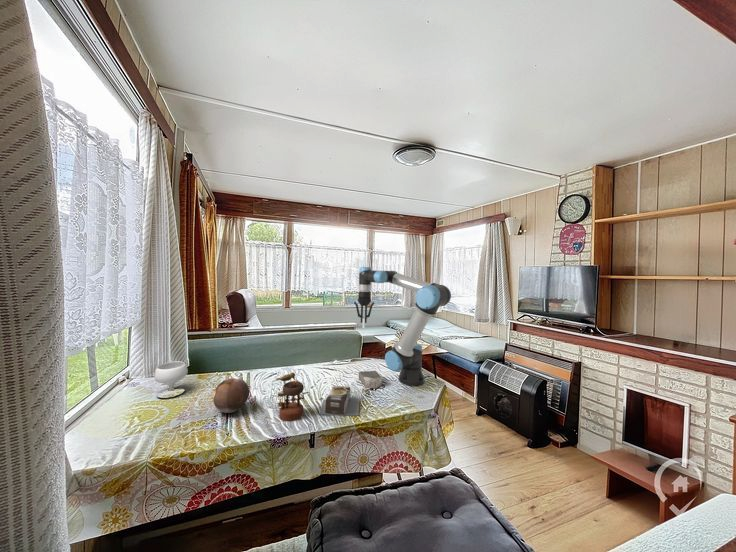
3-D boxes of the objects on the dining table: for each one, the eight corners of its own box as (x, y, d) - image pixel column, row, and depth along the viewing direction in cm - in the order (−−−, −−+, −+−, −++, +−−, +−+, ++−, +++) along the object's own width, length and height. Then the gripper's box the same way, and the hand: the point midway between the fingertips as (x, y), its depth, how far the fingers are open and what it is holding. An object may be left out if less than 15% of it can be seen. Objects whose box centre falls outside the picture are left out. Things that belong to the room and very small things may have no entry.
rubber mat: (359, 401, 140) (359, 400, 140) (358, 416, 126) (358, 414, 126) (323, 400, 140) (323, 399, 140) (319, 415, 126) (319, 413, 126)
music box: (278, 425, 117) (278, 377, 118) (273, 415, 127) (273, 371, 128) (313, 416, 125) (312, 371, 126) (305, 407, 134) (305, 365, 135)
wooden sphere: (252, 401, 137) (252, 372, 136) (244, 418, 122) (244, 385, 121) (219, 403, 134) (220, 373, 133) (207, 420, 119) (207, 386, 119)
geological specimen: (374, 369, 172) (384, 377, 157) (374, 379, 171) (383, 388, 157) (358, 370, 168) (366, 379, 154) (358, 380, 168) (365, 390, 154)
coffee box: (350, 386, 142) (345, 401, 126) (350, 398, 142) (344, 415, 126) (333, 384, 143) (325, 399, 126) (332, 397, 143) (324, 413, 127)
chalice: (155, 403, 132) (155, 372, 132) (153, 392, 143) (153, 364, 142) (189, 395, 142) (189, 366, 141) (185, 385, 152) (185, 358, 152)
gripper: (374, 290, 180) (373, 326, 180) (354, 290, 179) (353, 326, 180) (374, 291, 172) (373, 329, 173) (354, 291, 172) (353, 328, 173)
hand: (363, 327), depth 176 cm, fingers closed
